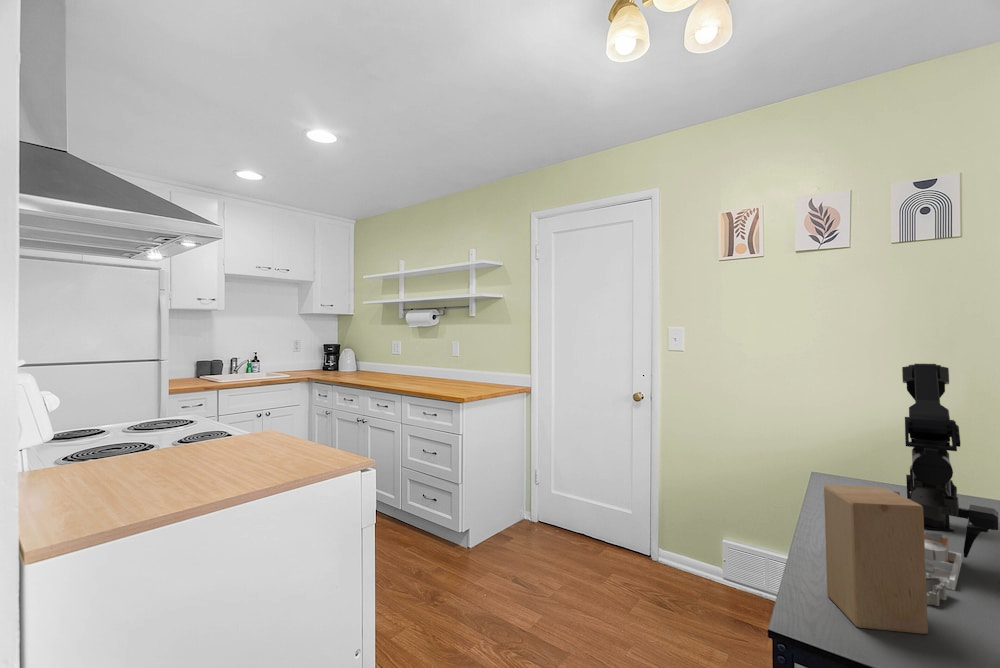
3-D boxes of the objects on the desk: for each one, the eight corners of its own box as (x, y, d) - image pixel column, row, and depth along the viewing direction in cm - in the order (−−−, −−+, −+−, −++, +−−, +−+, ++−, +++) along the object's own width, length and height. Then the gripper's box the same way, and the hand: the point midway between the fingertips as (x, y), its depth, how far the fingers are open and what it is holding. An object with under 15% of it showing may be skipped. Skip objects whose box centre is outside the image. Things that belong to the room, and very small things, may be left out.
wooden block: (929, 635, 72) (924, 505, 73) (856, 628, 74) (852, 502, 75) (889, 601, 82) (885, 486, 82) (826, 595, 84) (822, 483, 84)
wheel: (913, 547, 94) (912, 536, 94) (948, 555, 90) (948, 544, 90) (909, 554, 90) (908, 544, 91) (945, 564, 87) (945, 552, 87)
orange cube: (922, 556, 99) (921, 528, 99) (948, 562, 96) (947, 534, 96) (919, 563, 96) (918, 535, 96) (946, 570, 93) (945, 541, 93)
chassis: (913, 550, 101) (912, 540, 101) (961, 562, 96) (961, 551, 96) (901, 575, 90) (900, 564, 91) (954, 590, 85) (954, 578, 85)
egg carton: (862, 583, 88) (860, 561, 89) (881, 574, 92) (880, 553, 92) (934, 610, 79) (933, 586, 79) (953, 599, 83) (952, 575, 83)
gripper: (866, 472, 98) (868, 547, 97) (995, 492, 84) (999, 579, 84) (876, 463, 105) (879, 532, 105) (997, 479, 91) (1000, 560, 91)
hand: (933, 549), depth 96 cm, fingers open, 9 cm apart
